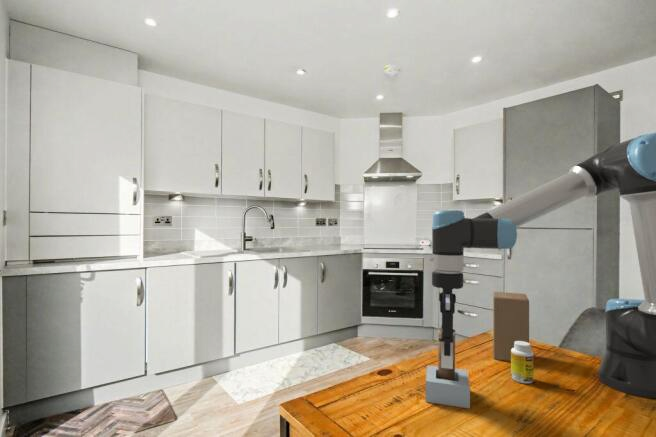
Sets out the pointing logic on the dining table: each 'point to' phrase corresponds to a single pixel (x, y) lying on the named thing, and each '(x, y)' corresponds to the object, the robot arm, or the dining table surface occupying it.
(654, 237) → the robot arm
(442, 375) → the peg
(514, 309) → the wooden block
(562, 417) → the dining table surface
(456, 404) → the socket block
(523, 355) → the supplement bottle
